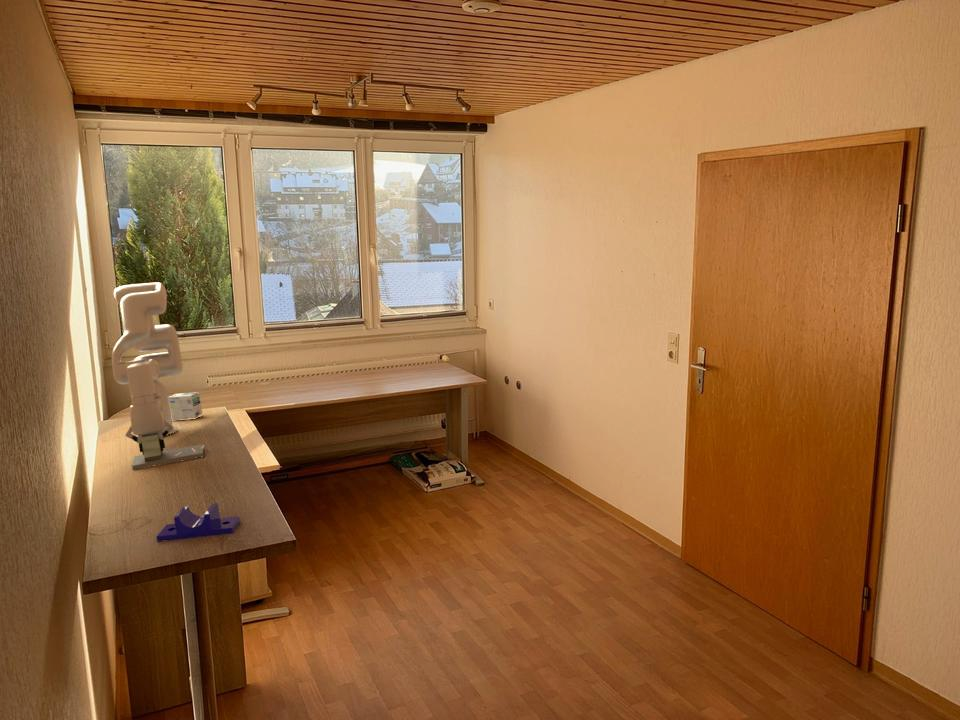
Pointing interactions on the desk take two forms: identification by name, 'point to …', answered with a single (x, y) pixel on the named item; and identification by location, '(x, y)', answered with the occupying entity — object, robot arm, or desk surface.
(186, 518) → the mounting bracket
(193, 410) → the light bulb box
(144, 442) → the block
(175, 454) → the board
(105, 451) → the desk surface
